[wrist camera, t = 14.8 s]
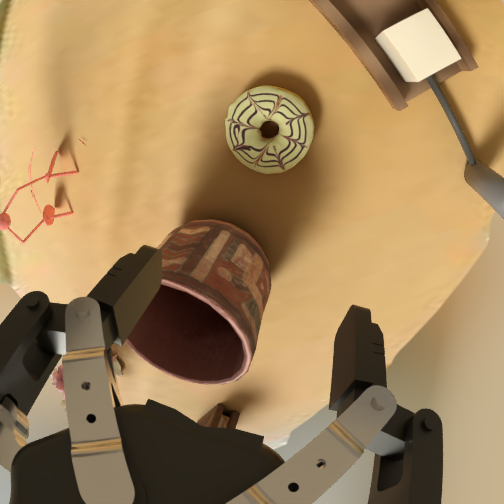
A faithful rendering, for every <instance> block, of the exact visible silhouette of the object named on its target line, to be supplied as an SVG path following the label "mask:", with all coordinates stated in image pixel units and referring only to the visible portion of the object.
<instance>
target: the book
mask: <svg viewBox="0 0 504 504" xmlns="http://www.w3.org/2000/svg"><path fill="white" fill-rule="evenodd" d="M224 407H225V406H224V405H222V404H218V405H217V406H215V407H214V408H213V409H212V410H211V411H209V412H208V413H207V414H206V415H205V416H203V417H202V418H201V419H200V420H199V421H198V422H197V423H198V424H199V425H201V426H205V427H216V428H231V429H235V428H236V425H237V422H238V418H239V415H240V413H239V412H237V411H233V412H232V413H230V414H229V415H228V416H225V415H223V414H222V413H223V410H224Z"/></svg>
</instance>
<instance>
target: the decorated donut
mask: <svg viewBox="0 0 504 504" xmlns="http://www.w3.org/2000/svg"><path fill="white" fill-rule="evenodd" d="M266 121H274V122H276V123H277V124H278V125H279V132H278V135H277V136H274V137H273V138H266V137H264V136H263V135H262V131H261V126H262V124H263V123H264V122H266ZM225 127H226V139H227V143H228V146H229V148H230V149H231V151H232V153H233V154H234V155H235V156H236V158H237V159H238V160H239V161H240V162H241V163H243V164H244V165H246V166H247V167H248V168H250V169H253V170H255V171H257V172H261V173H264V174H272V173H282V172H285V171H287V170H288V169H291V168H292V167H294V166H295V165H296V164H297V163H298V162H299V161H300V160H301V159H302V158H303V157H304V156H305V155H306V153H307V151H308V149H309V148H310V145H311V143H312V140H313V135H314V130H315V129H314V121H313V117H312V115H311V112H310V110H309V108H308V106H307V105H306V103H305V102H304V100H303V99H302V98H301V97H300V96H298V95H297V94H295V93H293V92H291V91H288V90H286V89H284V88H281V87H276V86H268V85H263V86H259V87H256V88H252V89H250V90H247V91H245V92H244V93H243V94H242V95H241V96H239V97H238V98H237V100H236V101H234V102H233V103H232V104H231V105H230V106H229V108H228V116H227V117H226V119H225Z"/></svg>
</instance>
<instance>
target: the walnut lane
mask: <svg viewBox="0 0 504 504" xmlns="http://www.w3.org/2000/svg"><path fill="white" fill-rule="evenodd" d="M309 1H310V2H311V3H312V4H313V5H314V6H315V7H316V8H317V9H318V11H319V12H320V13H321V14H322V15H323V16H324V17H325V18H326V19H327V21H328V22H329V23H330V24H331V25H332V26H333V27H334V29H335V30H336V31H337V32H338V33H339V35H340V36H341V37H342V38H343V39H344V41H345V42H346V43H347V44H348V46H349V47H350V48H351V49H352V51H353V52H354V53H355V55H356V56H357V57H358V58H359V60H360V61H361V62H362V64H363V65H364V67H365V68H366V69H367V71H368V72H369V73H370V75H371V76H372V78H373V79H374V80H375V82H376V83H377V85H378V86H379V88H380V89H381V91H382V92H383V94H384V95H385V97H386V98H387V100H388V101H389V103H390V104H391V106H392V108H394V109H396V110H398V111H401V110H403V109H404V108H406V107H408V105H407V103H406V102H407V101H409V100H410V99H412V98H414V97H416V96H417V95H419V94H421V93H423V92H424V91H426V90H428V89H430V88H431V86H430V85H429V83H428V81H427V80H426V78H425V79H423V80H421V81H419V82H405V81H404V80H403V78H402V77H401V75H400V74H399V72H398V71H397V69H396V68H395V66H394V65H393V64H392V62H391V61H390V59H389V58H388V56H387V55H386V54H385V52H384V51H383V50H382V48H381V47H380V46H379V44H378V43H377V42H376V40H375V38H376V37H377V36H378V35H379V34H380V33H381V32H382V31H384V30H386V29H387V28H389V27H391V26H393V25H395V24H397V23H399V22H401V21H402V20H404V19H406V18H408V17H410V16H412V15H414V14H416V13H418V12H420V11H423V10H425V9H427V8H428V9H429V11H430V12H431V13H432V15H433V16H434V17H435V19H436V20H437V22H438V23H439V24H440V26H441V27H442V29H443V30H444V32H445V33H446V35H447V36H448V38H449V39H450V41H451V42H452V44H453V46H454V47H455V49H456V50H457V52H458V54H459V55H460V57H461V59H460V60H458V61H456V62H454V63H452V64H450V65H448V66H447V67H445V68H443V69H441V70H439V71H437V72H436V73H434V74H432V75H433V77H434V78H435V80H436V82H437V83H438V84H439V83H440V82H442V81H444V80H446V79H448V78H450V77H451V76H453V75H455V74H457V73H459V72H461V71H472V70H474V69H476V68H478V65H477V63H476V61H475V60H474V58H473V56H472V54H471V53H470V51H469V49H468V48H467V46H466V44H465V43H464V41H463V39H462V38H461V36H460V35H459V33H458V32H457V30H456V29H455V27H454V26H453V24H452V23H451V21H450V20H449V18H448V17H447V15H446V14H445V13H444V11H443V10H442V8H441V7H440V6H439V4H438V3H437V2H436V0H309Z"/></svg>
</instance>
